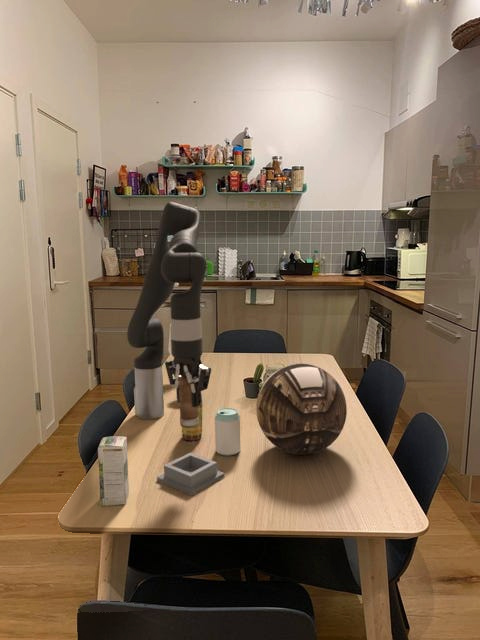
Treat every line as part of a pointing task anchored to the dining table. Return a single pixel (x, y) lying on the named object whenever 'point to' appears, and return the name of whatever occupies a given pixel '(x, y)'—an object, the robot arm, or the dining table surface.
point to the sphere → (301, 409)
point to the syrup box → (113, 470)
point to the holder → (190, 473)
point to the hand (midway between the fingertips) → (188, 403)
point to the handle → (187, 405)
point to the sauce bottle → (194, 428)
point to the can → (227, 431)
